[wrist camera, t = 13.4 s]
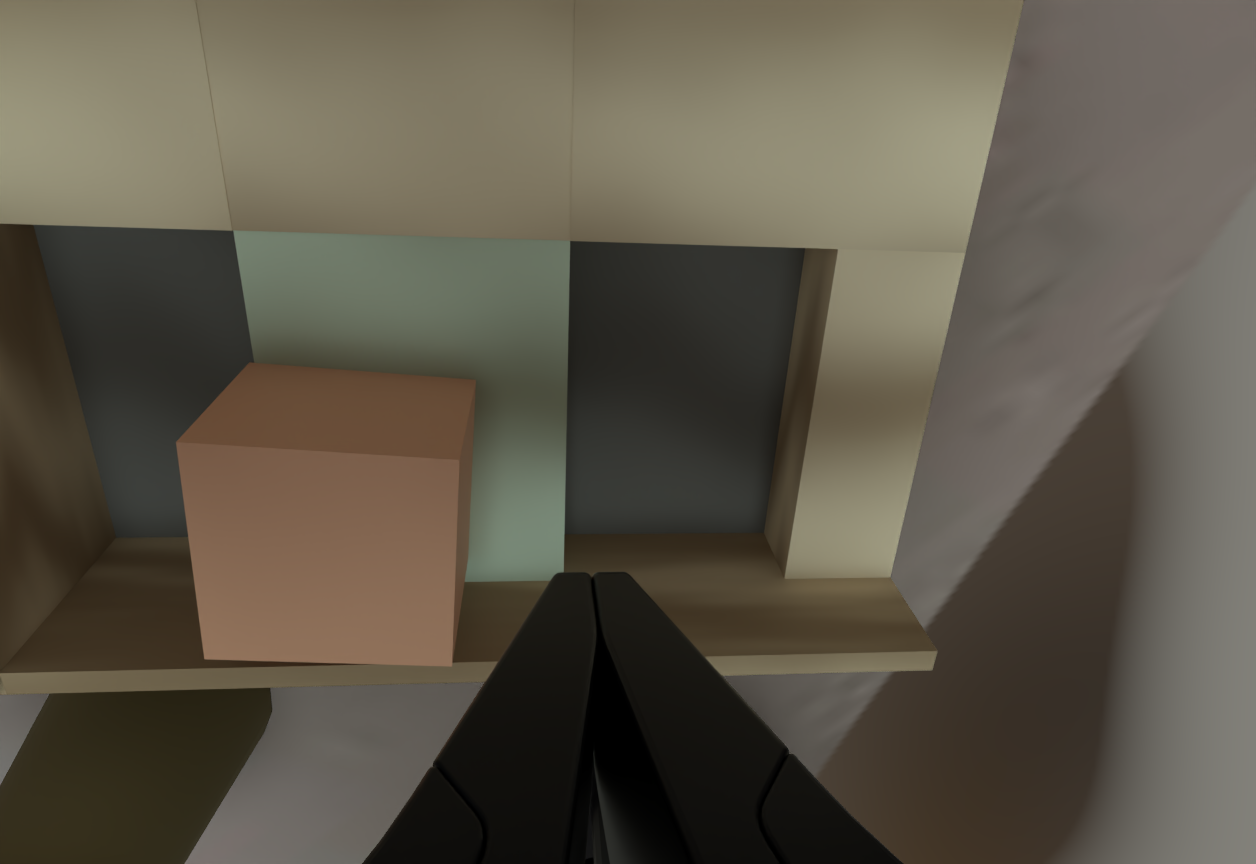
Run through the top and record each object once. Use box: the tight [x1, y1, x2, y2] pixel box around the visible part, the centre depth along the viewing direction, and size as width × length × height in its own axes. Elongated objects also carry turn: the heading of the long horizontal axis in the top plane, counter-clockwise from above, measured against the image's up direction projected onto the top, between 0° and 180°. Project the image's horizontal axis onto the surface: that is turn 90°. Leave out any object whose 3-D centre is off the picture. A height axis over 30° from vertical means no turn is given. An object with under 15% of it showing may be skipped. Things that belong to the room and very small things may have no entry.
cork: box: [0, 688, 272, 864], centre depth 20 cm, size 6×6×11 cm
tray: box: [0, 0, 1024, 695], centre depth 17 cm, size 19×22×6 cm
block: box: [176, 362, 476, 667], centre depth 18 cm, size 5×5×4 cm
